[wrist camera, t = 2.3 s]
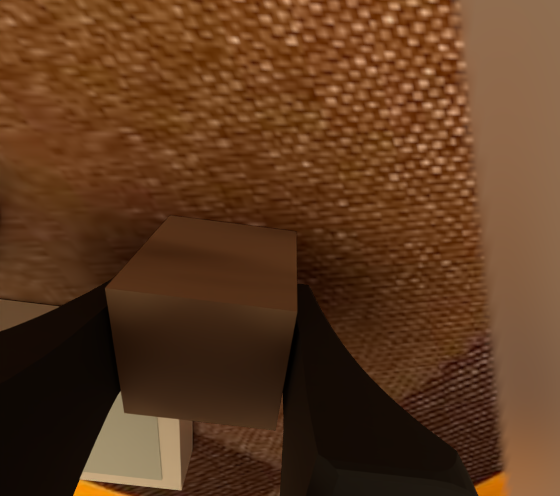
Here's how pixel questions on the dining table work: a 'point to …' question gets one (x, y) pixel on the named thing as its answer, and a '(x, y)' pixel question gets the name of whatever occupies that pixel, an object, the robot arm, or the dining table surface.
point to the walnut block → (206, 322)
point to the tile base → (125, 432)
